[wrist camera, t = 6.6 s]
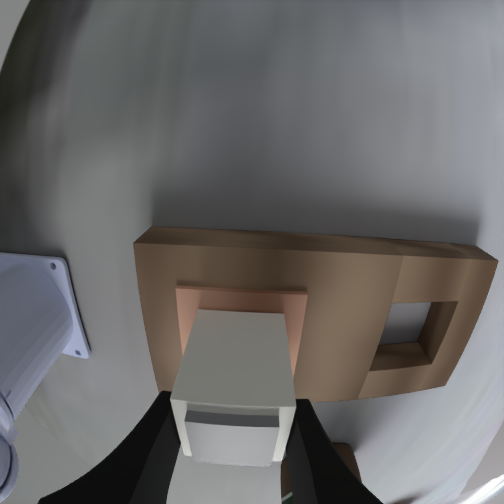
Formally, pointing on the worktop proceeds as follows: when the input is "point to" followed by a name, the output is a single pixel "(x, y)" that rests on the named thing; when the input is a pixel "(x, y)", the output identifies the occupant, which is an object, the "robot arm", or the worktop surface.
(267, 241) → the brown wooden flat block
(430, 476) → the worktop surface
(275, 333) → the plug
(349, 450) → the beer bottle
